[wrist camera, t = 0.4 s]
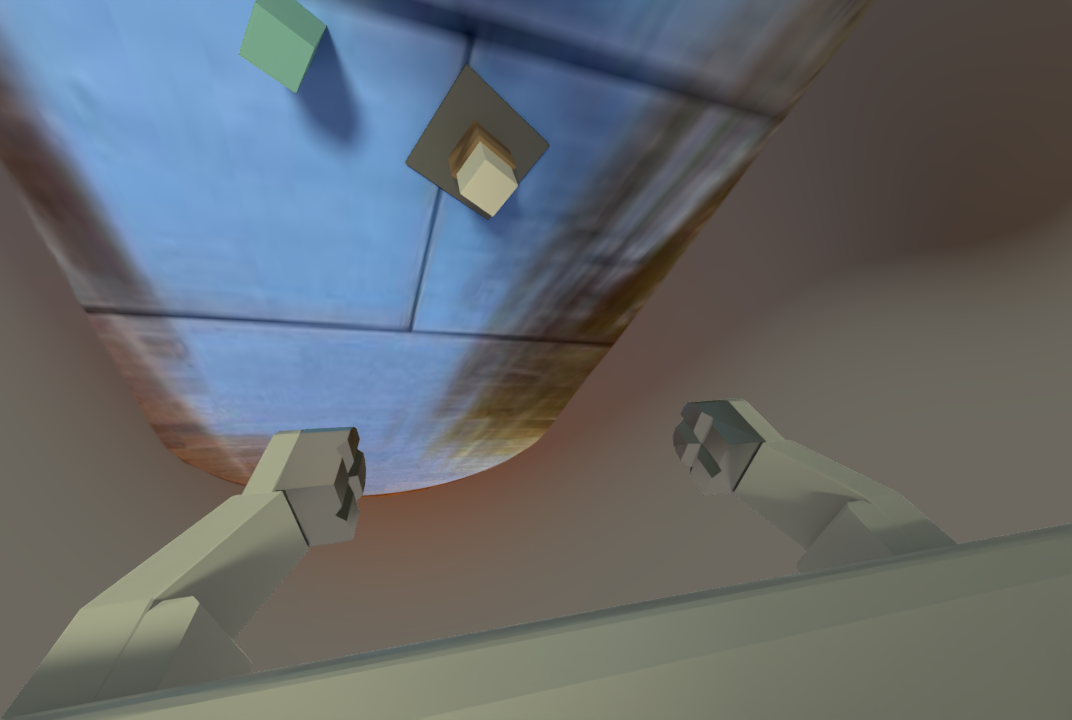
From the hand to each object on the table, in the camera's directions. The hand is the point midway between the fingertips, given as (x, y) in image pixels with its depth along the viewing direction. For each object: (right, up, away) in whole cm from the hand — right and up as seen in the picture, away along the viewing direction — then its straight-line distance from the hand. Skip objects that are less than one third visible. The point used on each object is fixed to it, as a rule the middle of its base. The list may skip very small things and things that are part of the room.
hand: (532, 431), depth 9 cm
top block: (-7, +26, +39) cm, 47 cm away
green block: (-25, +36, +29) cm, 53 cm away
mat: (-8, +30, +42) cm, 53 cm away
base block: (-8, +30, +42) cm, 52 cm away
